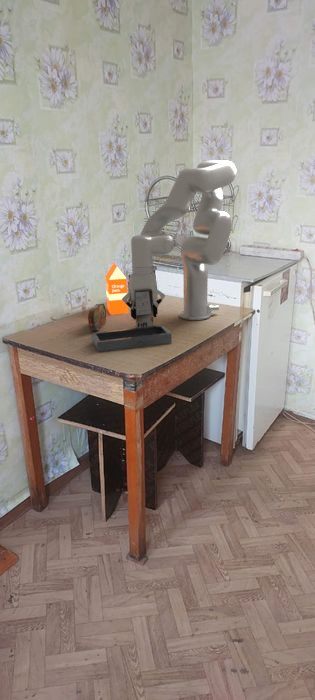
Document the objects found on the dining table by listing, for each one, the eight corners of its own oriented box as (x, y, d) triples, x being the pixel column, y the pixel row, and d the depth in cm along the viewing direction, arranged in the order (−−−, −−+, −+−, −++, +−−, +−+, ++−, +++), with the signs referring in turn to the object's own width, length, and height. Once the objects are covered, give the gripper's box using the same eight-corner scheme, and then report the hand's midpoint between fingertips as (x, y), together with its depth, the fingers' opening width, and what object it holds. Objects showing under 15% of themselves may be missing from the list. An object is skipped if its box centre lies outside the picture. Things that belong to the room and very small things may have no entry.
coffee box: (154, 333, 191) (152, 291, 185) (136, 334, 190) (135, 291, 185) (152, 325, 199) (151, 285, 194) (135, 326, 199) (134, 285, 193)
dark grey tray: (162, 334, 190) (162, 324, 189) (171, 343, 181) (171, 333, 179) (92, 342, 183) (91, 333, 182) (97, 352, 174) (97, 342, 173)
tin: (95, 333, 193) (94, 311, 190) (87, 333, 193) (86, 311, 190) (107, 321, 206) (106, 301, 203) (100, 321, 207) (98, 300, 204)
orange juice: (110, 314, 215) (107, 266, 208) (107, 308, 223) (104, 262, 216) (128, 312, 217) (126, 265, 210) (125, 307, 225) (122, 261, 218)
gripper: (162, 266, 193) (163, 312, 199) (116, 270, 188) (119, 317, 194) (168, 270, 186) (169, 317, 192) (121, 274, 181) (123, 323, 188)
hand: (144, 317), depth 193 cm, fingers closed on coffee box, 7 cm apart
